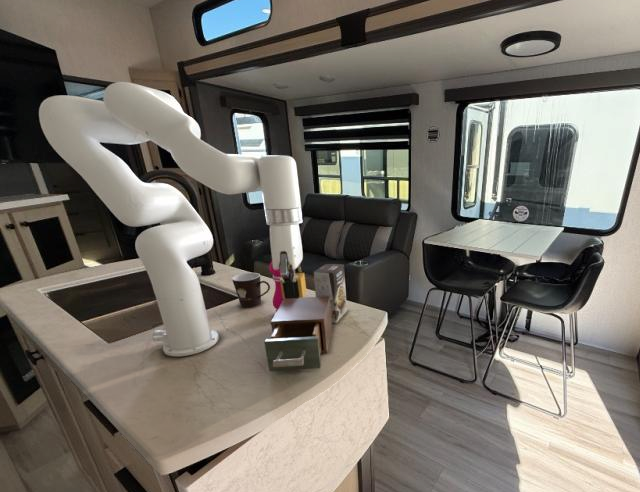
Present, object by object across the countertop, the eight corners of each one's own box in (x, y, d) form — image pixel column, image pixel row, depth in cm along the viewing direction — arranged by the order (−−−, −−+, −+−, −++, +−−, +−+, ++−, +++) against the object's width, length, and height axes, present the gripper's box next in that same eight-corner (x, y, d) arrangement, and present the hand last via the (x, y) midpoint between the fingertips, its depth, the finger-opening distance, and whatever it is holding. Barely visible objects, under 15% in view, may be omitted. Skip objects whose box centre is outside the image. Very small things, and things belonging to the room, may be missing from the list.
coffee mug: (232, 305, 109) (226, 277, 105) (255, 297, 115) (250, 271, 112) (251, 313, 102) (246, 284, 99) (274, 304, 109) (270, 277, 106)
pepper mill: (269, 317, 100) (259, 255, 93) (285, 308, 106) (277, 250, 99) (287, 321, 97) (279, 258, 91) (303, 311, 104) (295, 252, 97)
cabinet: (327, 352, 81) (323, 318, 77) (276, 355, 80) (270, 321, 76) (332, 326, 94) (329, 296, 91) (288, 328, 93) (284, 298, 90)
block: (282, 298, 73) (279, 279, 72) (287, 291, 78) (284, 273, 76) (303, 297, 74) (300, 278, 72) (306, 290, 78) (304, 272, 76)
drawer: (317, 382, 68) (314, 350, 66) (262, 385, 67) (257, 354, 65) (326, 338, 86) (324, 312, 83) (283, 341, 84) (279, 314, 82)
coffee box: (337, 323, 96) (333, 273, 90) (317, 321, 97) (312, 271, 91) (347, 311, 104) (344, 264, 99) (329, 309, 105) (325, 262, 100)
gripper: (276, 211, 77) (286, 282, 83) (254, 223, 61) (268, 309, 67) (308, 211, 78) (315, 281, 84) (293, 222, 62) (304, 307, 68)
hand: (294, 292), depth 76 cm, fingers closed on block, 4 cm apart
